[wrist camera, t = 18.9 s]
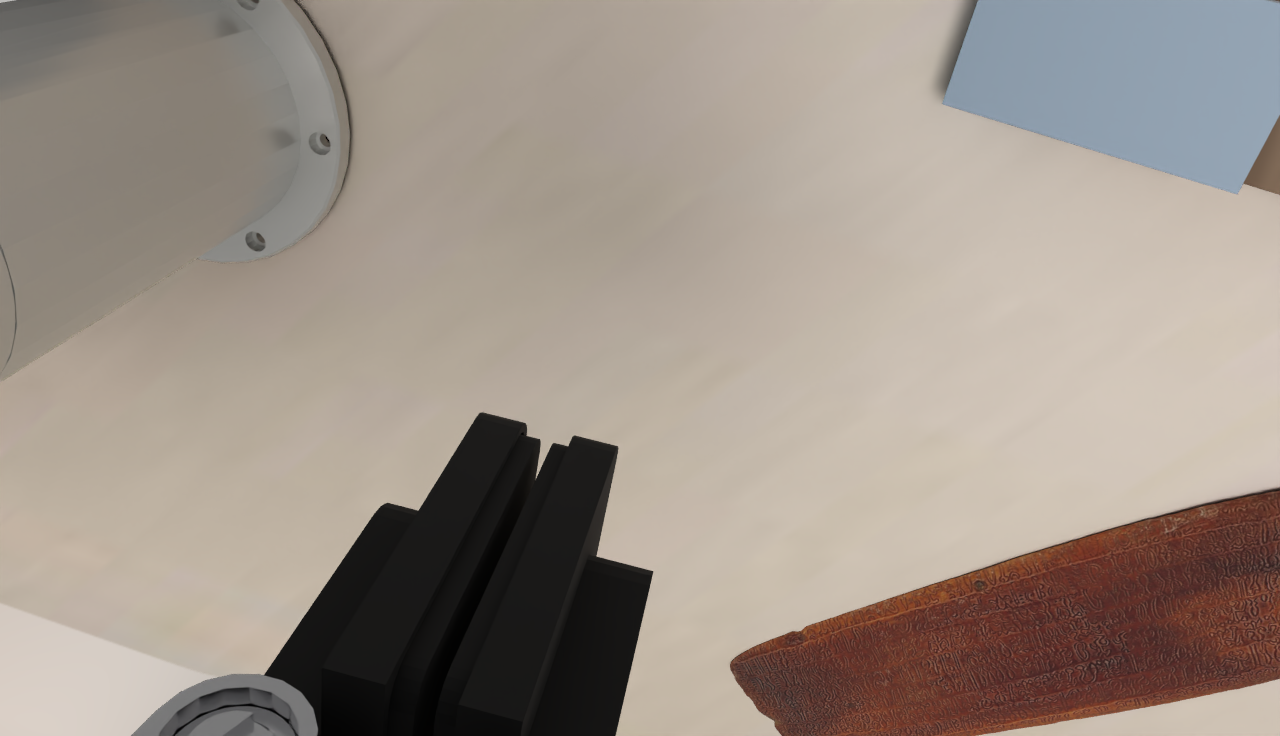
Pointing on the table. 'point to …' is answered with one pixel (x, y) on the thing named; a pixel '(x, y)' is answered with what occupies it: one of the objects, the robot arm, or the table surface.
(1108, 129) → the domino
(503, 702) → the robot arm
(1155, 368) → the table surface
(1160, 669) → the wooden tablet
